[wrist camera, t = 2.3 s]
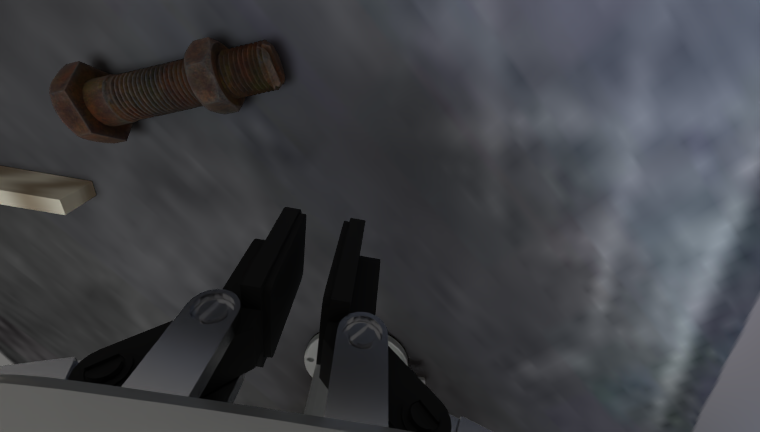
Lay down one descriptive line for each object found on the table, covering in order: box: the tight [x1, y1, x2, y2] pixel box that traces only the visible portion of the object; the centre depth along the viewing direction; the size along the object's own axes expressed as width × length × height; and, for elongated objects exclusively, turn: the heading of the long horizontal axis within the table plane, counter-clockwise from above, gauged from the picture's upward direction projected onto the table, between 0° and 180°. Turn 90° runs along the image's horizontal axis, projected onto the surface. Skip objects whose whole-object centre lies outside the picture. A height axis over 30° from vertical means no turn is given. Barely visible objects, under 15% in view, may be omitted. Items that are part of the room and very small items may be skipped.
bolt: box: [49, 37, 285, 143], centre depth 25 cm, size 6×5×15 cm
